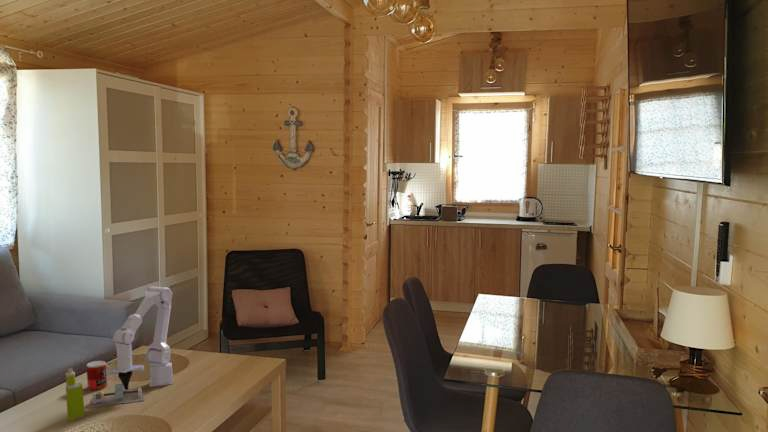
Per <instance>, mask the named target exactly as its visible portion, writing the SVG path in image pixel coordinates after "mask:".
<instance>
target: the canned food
mask: <svg viewBox="0 0 768 432" xmlns="http://www.w3.org/2000/svg"><path fill="white" fill-rule="evenodd" d="M106 370H107V362H106V361H104V360H94V361H91V362H88V363H87V364H86V379H87V380H86V381H87V388H88V390H89V391H100V390H103V389H105V388H107V386H108V378H107V377H108V375H106Z"/></svg>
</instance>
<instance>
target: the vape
mask: <svg viewBox="0 0 768 432" xmlns="http://www.w3.org/2000/svg"><path fill="white" fill-rule="evenodd" d="M65 381H66V387H65V396H66V411H67V413H66V414H67V419H68V421H74V420H78V419H80V417H81V418H83V417H85V404H84V389H83V387H84V385H83V383H82V382H81V383H80V382H79V383H77V382H76V371H74V370H73V367H68V368H67V372H66V373H65Z"/></svg>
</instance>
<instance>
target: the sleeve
mask: <svg viewBox="0 0 768 432" xmlns="http://www.w3.org/2000/svg"><path fill="white" fill-rule="evenodd" d="M123 391H125V389H124V386H123V383H122V382H121V383H116V384H114V392H115V395H114V396H115V399H116V398H123V396H124V394H123Z"/></svg>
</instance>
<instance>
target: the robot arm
mask: <svg viewBox="0 0 768 432" xmlns="http://www.w3.org/2000/svg"><path fill="white" fill-rule="evenodd" d="M172 298H173V291H172V290H171V289H170V287H168V286H166V287H164V286H154V285H150V286H149V287H147V288H146V291H145V292H144V298H143V299H142V301H141V302H140V305H138V308H137V310H136V311H135V313H133V314H130V315H129V316H128V317H127V319H126V321H125V322H124V323H123V324H122V326H121V328H120V329H118V330H116V331H115V332H114V333H113V337H112V341H113V342H114V344H115V345H114V347H116V358H117V359H116V361H117V366H116V367H113V368H108V369H107V368H106V375H107V376H110V375H116V374H118V376H117V377H118V378H119V380H120V381H121V384H122V383H123V388H124V391H129V385H130V381H131V378H132V376H133V372H144V371H145V364H142V365H141V364H140V365H138V364H137V365H135V364H134V365H133V350H132V349H133V347H132V346H133V345H132V342H134V340H135V335H136V333H137V330H138V329H139V328H140V326H141V324H142V323H143V317H144V316H145V315H146V313H147V312H148V311H149V309H150V308H151V307H152V306H153V305H156V307H157V315H156V319H155V320H156V321H155V327H154V334H153V341H152V343H150V344H149V345H148V347H147V351H146V353H145V355H144V356H145V358H144V359H145V361H146V362H147V363H148V365H149V369H150V370H149V374H150V380H149V381H150V382H149V388H152V387H153V388H154V387H160V386H166V385H167V386H168V385H173V379H174V374H173V364H172V362H170V361H171V346H170V345H168V344H167V337H168V332H169V324H170V317H171V311H172V310H171V309H172Z"/></svg>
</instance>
